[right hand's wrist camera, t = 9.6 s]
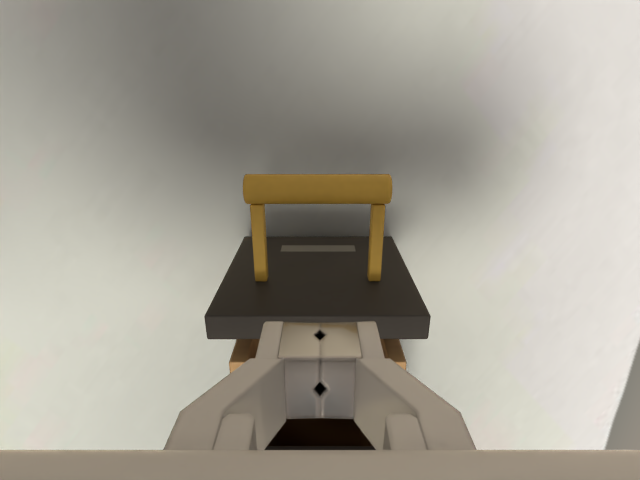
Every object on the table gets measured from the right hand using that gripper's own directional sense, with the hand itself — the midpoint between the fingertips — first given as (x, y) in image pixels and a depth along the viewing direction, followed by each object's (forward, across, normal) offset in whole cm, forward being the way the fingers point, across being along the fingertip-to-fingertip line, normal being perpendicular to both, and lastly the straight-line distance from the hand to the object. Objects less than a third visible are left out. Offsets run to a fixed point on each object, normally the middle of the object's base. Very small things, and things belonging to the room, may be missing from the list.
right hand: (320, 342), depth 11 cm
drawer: (+15, 0, -10) cm, 18 cm away
